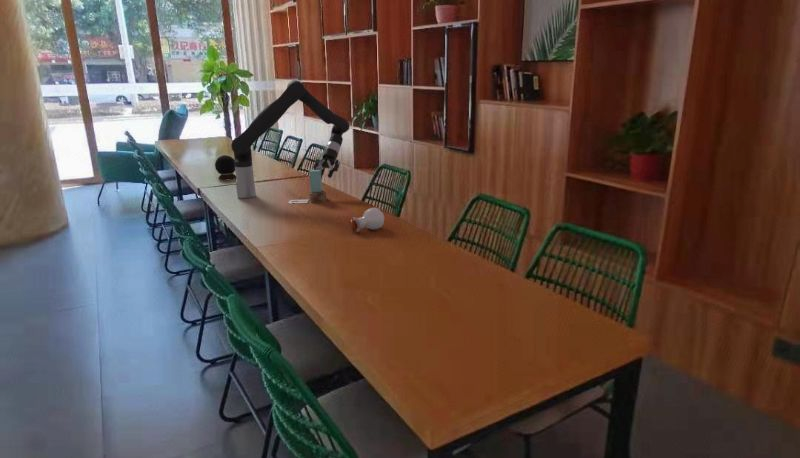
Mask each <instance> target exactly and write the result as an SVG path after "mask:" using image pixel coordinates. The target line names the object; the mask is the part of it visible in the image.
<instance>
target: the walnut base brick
mask: <svg viewBox="0 0 800 458" xmlns="http://www.w3.org/2000/svg"><path fill="white" fill-rule="evenodd" d="M308 196H309V201H310V203H322V202H323V203H324V202H327V192H326V190H325V189H324V188H322V191H321V192H311V189H309V190H308Z"/></svg>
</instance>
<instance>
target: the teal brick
mask: <svg viewBox="0 0 800 458" xmlns="http://www.w3.org/2000/svg"><path fill="white" fill-rule="evenodd" d="M308 176H309V184H310V186H309V187H310V188H309V189H310V190H311V192H321V191H322V189H323V184H322V169H321V170H315V169H310V170H309V171H308Z"/></svg>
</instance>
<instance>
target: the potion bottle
mask: <svg viewBox="0 0 800 458" xmlns="http://www.w3.org/2000/svg"><path fill="white" fill-rule="evenodd" d="M384 223H385V215H384V213H383V212H382V210H381V209H379V208H378V207H369V208H368V209H366V210H364V212H363V215H362V216H360V217H358V218H357V217H355V216H353V217H352V219H351V218H348V225H349V229H350V230H351V231H352V233H355V232H357V233H359V232H360V231H361V229H363V228H368V229H369V230H371V231H372V230H373V231H374V230H375V231H376V230H378V229H380V228H382V227H383V224H384Z"/></svg>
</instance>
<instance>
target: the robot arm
mask: <svg viewBox="0 0 800 458" xmlns="http://www.w3.org/2000/svg"><path fill="white" fill-rule="evenodd" d="M298 101H300V102H301V103H303V104H304V105H305V106H306V107H308V108H309V110H311V111H312V112H313V113H314V115H315V116H317V117H318V118H319V119H320V120H322V122H324V123H325V124H327V125H330V124H331V125H333V126H332V127H331V131H330V137H329V140H328V142H327V144H326V146H325V149H324V152H323V154H322V158H321V159H318V158H316V159H315V161H314V164H313V167H312V168H313V170H321V171H322V170H323V169H330V170H329V171H328V173H327V177H328V179H331V178H332V177H333V175H334V173H335V172H338V170H339V168H340V164H341V162H340V160H339V159H337V158H338V156H339V153H340V149H341V146H342V144H343V142H344V141H343V140H344V139H343V138H344V137H343V134H345V133H347V132H348V131H349V130H350V123H349V122H348V120H346V119H345V118H343V117H342V116H340V115H338V114H336V113H334V112H333V111H332V110H331V109H330V108H328V107H327V106H326V105H325V104H324V103H322V102H321V101H319V99H317V98H316V97H315V96H313V94H311V92H310V91H308V89H307V88H306V87H305V86H304V84H303V82H301V80H296V79H294V80H290V81H289V82H288V83H287V86H286V89H284V91H283V92H282V93H281V94H280V96H279V97H278V98H277V99H275V100H274V101H272V102H271V103H270V104H268V105H267V106H265V108H264V109H263V110H261V111H260V112H259V114H258V115H257V116H255V118H254V119H253V121H252V122H251V123H250V124H249V126H248V127H247V128H246V129H245V130H244V131H243V132H242V133H240V134H239V135H237V136H236V137H234V138H233V140H232V141H231V145H230V146H231V147H230V148H231V150H232V151H233V157H234V158H233V159H234V164H235V171H234V172H235V176H236V178H235V179H236V180H235V188H236V194H237V195H236V196H237V198H238V199H251V198H254V197H256V196H257V194H256V192H257V191H256V184H255V178H254V177H255V176H254V169H253V155H252V146H253V145H254V143H255V142H256V141H257V140H258V139H259V138H260V137H261V136H263V135H264V134H266V132H268V131H269V130H270V129H271V128H273V127H274V125H275V124H276V123H277V122H279V120H280V119H281V118H282V117H283V116H284V115H285V114H286V112H287V111H288V110H289V109H290V108H291V106H293V105H294V104H295V103H296V102H298Z"/></svg>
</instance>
